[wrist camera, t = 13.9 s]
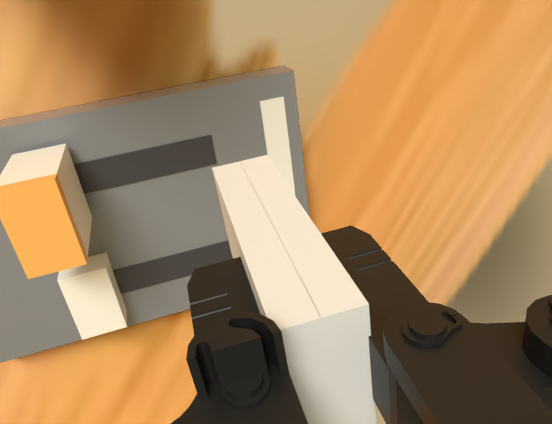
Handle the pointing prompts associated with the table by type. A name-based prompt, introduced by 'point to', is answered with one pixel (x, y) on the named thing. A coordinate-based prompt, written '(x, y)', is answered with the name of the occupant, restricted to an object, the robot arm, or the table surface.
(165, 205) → the panel
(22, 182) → the handle
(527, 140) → the table surface
